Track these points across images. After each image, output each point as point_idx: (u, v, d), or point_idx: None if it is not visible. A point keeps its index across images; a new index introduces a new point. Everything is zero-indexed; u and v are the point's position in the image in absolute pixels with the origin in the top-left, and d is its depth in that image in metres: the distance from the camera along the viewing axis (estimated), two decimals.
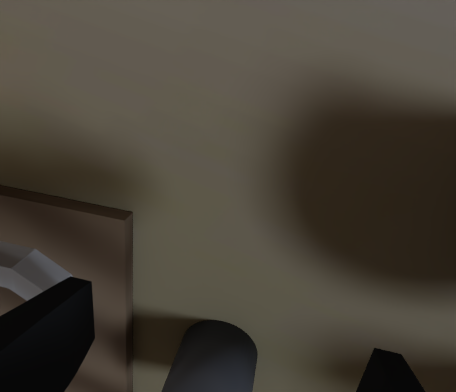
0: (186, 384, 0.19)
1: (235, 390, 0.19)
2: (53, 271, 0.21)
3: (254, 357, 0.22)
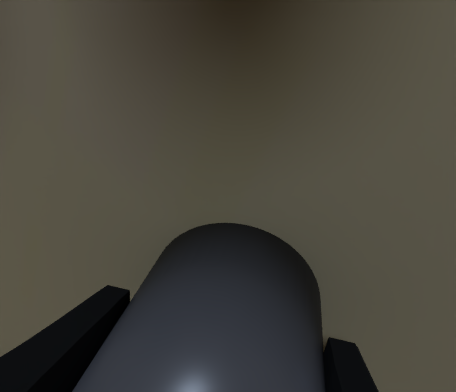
0: None
1: (103, 351, 0.07)
2: None
3: (201, 239, 0.09)
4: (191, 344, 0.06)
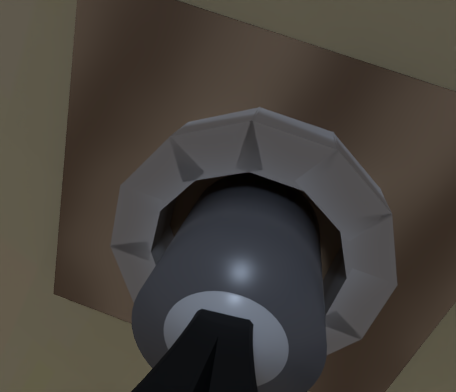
0: None
1: (173, 244, 0.10)
2: None
3: (231, 182, 0.12)
4: (235, 230, 0.09)
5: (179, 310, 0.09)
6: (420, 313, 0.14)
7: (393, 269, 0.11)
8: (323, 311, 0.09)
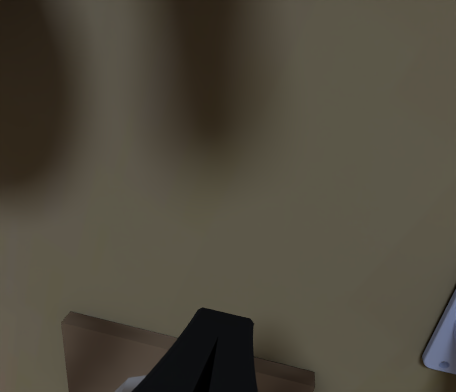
0: None
1: None
2: (118, 391, 0.24)
3: None
4: None
5: None
6: None
7: None
8: None
